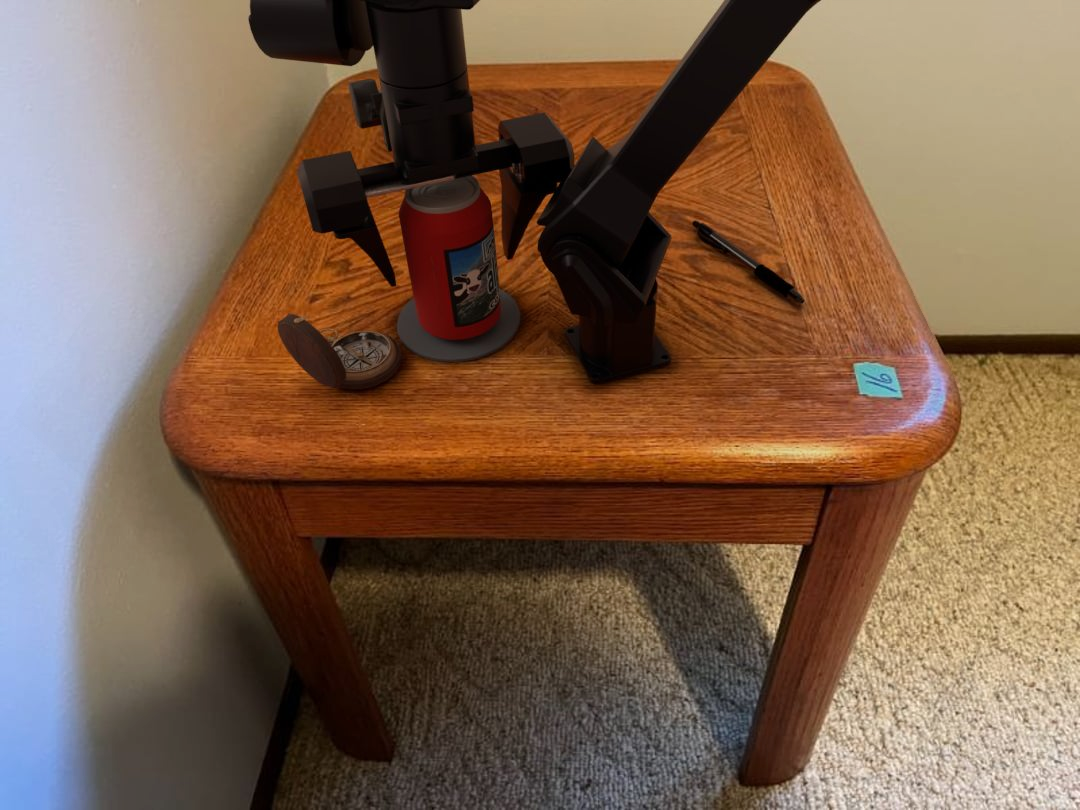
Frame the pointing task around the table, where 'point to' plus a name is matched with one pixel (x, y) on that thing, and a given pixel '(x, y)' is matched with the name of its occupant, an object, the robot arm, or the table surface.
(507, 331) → the felt coaster
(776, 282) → the pen
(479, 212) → the beverage can
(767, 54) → the robot arm
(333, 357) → the compass
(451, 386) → the table surface
